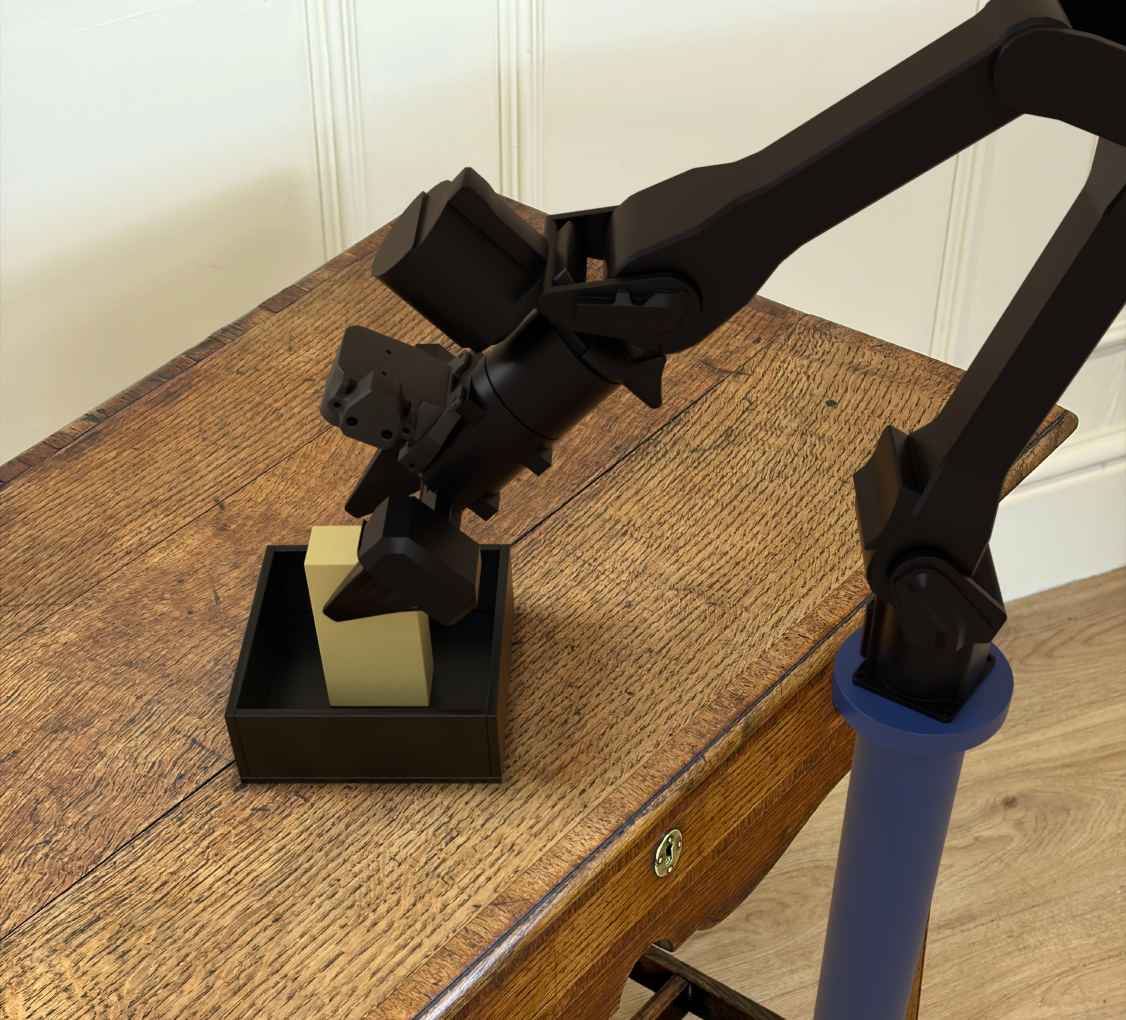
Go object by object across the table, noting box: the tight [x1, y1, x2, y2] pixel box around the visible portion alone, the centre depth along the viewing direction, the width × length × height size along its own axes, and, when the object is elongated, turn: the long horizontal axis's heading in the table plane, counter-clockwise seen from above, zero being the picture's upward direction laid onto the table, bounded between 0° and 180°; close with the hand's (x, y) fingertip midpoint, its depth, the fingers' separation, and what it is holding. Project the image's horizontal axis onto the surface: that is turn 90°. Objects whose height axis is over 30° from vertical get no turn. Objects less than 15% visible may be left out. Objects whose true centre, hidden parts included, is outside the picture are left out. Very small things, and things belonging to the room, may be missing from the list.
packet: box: [304, 525, 434, 706], centre depth 92 cm, size 4×6×11 cm, turn 88°
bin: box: [223, 543, 516, 784], centre depth 94 cm, size 15×15×6 cm
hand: (340, 562), depth 89 cm, fingers open, 9 cm apart
